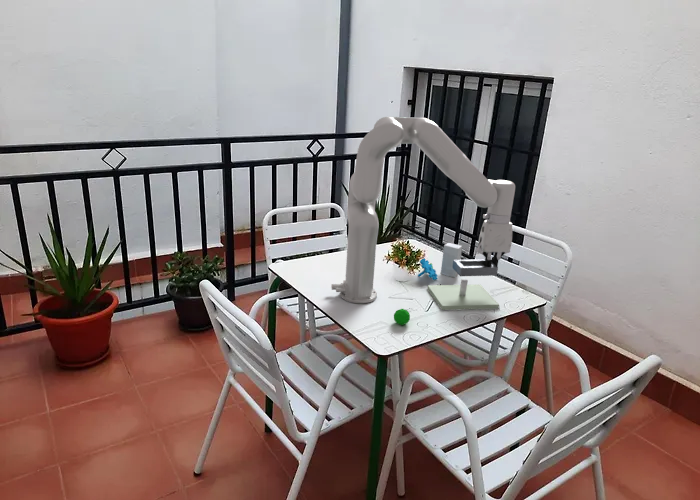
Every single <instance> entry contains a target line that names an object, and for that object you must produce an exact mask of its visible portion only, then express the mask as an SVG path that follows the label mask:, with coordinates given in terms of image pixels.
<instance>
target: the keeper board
mask: <svg viewBox="0 0 700 500" xmlns="http://www.w3.org/2000/svg"><path fill="white" fill-rule="evenodd" d="M427 291H428V292H429V294H430V295H431V297H432V298H433V299H434V301H435V302H436V304H437V305H438V306H439V308H440V309H441V311H451V310H452V311H459V310H460V311H461V310H486V309H487V310H489V309H491V310H494V309H495V310H498V309H500V304H499V303H498V301H497V300H496V299H494V297H493V296H492V295H491V294H490V293H489V292H488V291H487V289H486V288H485V287H483V286H482V285H481V284H468V279H466V278H461V280H460V284H441V285H440V284H437V285H436V284H435V285H429V284H428V285H427Z"/></svg>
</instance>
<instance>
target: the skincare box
mask: <svg viewBox="0 0 700 500" xmlns="http://www.w3.org/2000/svg"><path fill="white" fill-rule="evenodd" d="M462 251H463V245H459V244H457V243H456V244H455V243H452V242H451V243H450V242H447V243H445V244H444V245H443V251H442V252H443V253H442V260H441V267H440V268H441V269H440V274H441V275H443V276H446V277H451V278H456V277H457V276H459V275H458V273H457V272H456V271H455V270H454V269H453V268H452V267H453V260H462V258H461V257H462Z"/></svg>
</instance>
